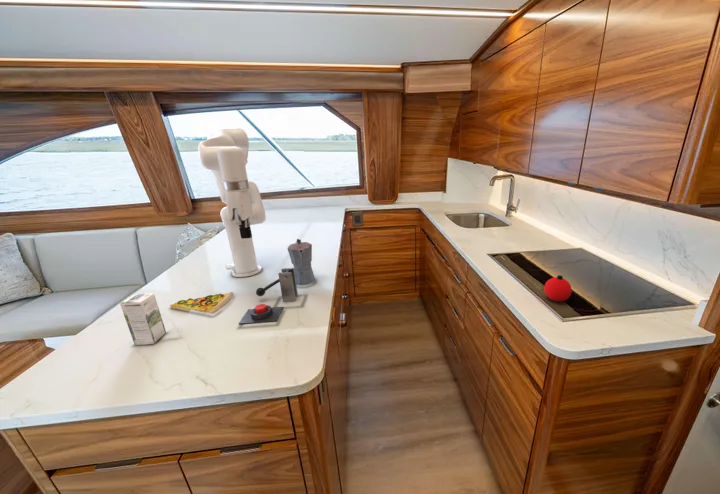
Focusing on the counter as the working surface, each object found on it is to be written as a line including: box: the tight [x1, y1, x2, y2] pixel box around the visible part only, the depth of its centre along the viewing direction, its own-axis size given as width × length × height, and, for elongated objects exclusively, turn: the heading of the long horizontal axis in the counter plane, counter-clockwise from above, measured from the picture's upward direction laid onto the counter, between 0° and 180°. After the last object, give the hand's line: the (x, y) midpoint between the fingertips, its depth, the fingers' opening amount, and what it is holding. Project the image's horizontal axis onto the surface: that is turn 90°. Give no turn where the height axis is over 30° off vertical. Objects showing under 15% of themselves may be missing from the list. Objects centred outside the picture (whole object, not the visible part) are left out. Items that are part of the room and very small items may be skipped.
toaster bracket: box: [278, 267, 299, 303], centre depth 110 cm, size 10×9×13 cm
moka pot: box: [287, 238, 316, 286], centre depth 124 cm, size 10×15×20 cm, turn 28°
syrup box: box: [119, 292, 167, 346], centre depth 89 cm, size 6×6×14 cm
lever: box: [255, 270, 293, 297], centre depth 109 cm, size 15×3×3 cm
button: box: [254, 303, 267, 314], centre depth 100 cm, size 4×4×2 cm
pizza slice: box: [169, 291, 234, 315], centre depth 110 cm, size 16×21×3 cm
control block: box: [238, 304, 284, 326], centre depth 101 cm, size 12×9×4 cm
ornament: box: [543, 274, 573, 303], centre depth 109 cm, size 9×9×10 cm
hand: (246, 237), depth 107 cm, fingers closed
